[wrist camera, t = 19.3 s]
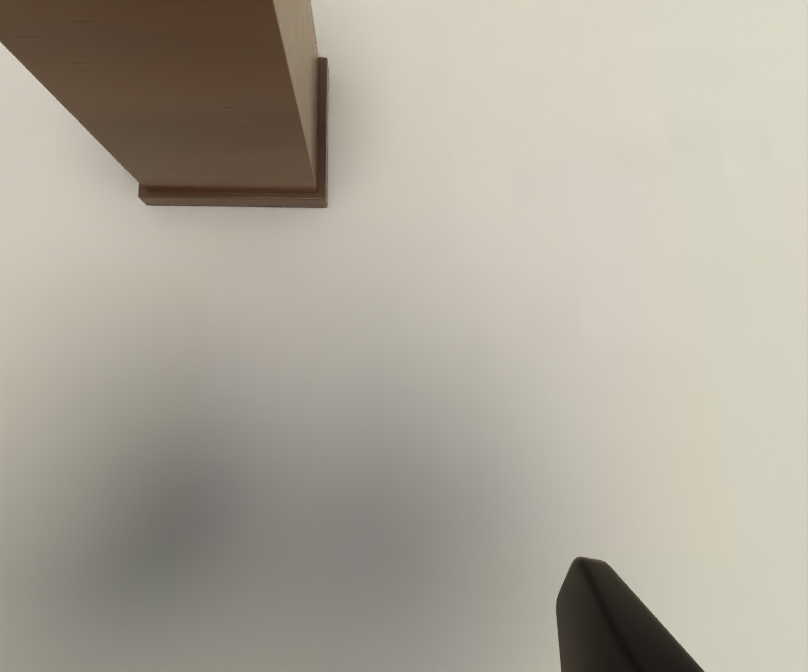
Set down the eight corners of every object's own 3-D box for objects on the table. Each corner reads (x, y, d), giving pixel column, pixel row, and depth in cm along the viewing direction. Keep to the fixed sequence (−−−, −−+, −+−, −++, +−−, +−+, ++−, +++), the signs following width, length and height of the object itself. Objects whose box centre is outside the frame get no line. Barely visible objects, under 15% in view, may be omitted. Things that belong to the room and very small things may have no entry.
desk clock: (327, 207, 21) (261, -116, 8) (146, 205, 21) (-218, -140, 8) (328, 66, 22) (272, -421, 9) (155, 61, 22) (-158, -458, 9)
